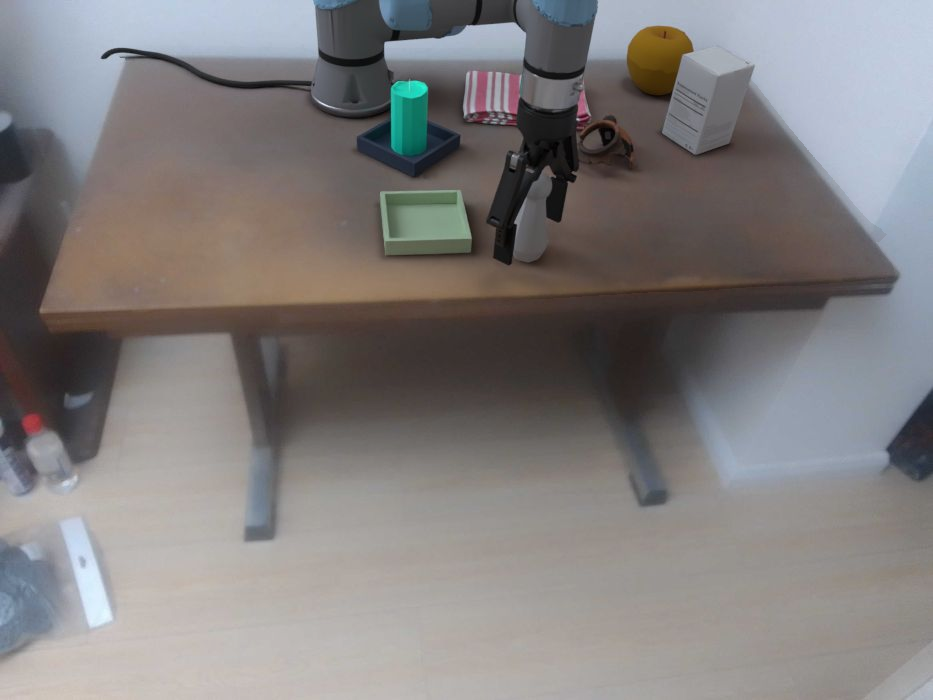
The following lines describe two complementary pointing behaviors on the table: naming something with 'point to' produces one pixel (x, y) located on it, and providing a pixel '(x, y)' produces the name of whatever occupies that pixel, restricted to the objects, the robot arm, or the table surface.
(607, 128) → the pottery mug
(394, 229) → the pale tray
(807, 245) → the table surface
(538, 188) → the salt shaker
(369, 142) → the dark tray
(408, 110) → the candle
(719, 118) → the rectangular carton
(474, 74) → the dish towel
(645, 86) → the apple
